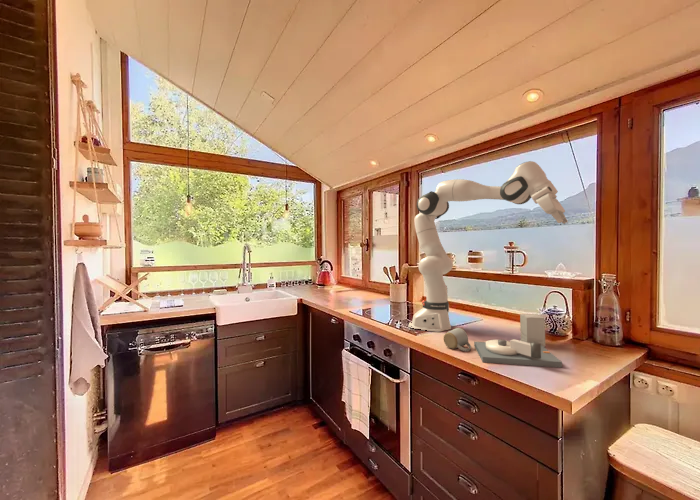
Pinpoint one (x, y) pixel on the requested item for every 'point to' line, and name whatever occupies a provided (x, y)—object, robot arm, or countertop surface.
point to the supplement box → (532, 328)
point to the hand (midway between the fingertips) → (563, 222)
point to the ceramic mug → (457, 339)
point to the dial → (514, 347)
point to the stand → (517, 357)
